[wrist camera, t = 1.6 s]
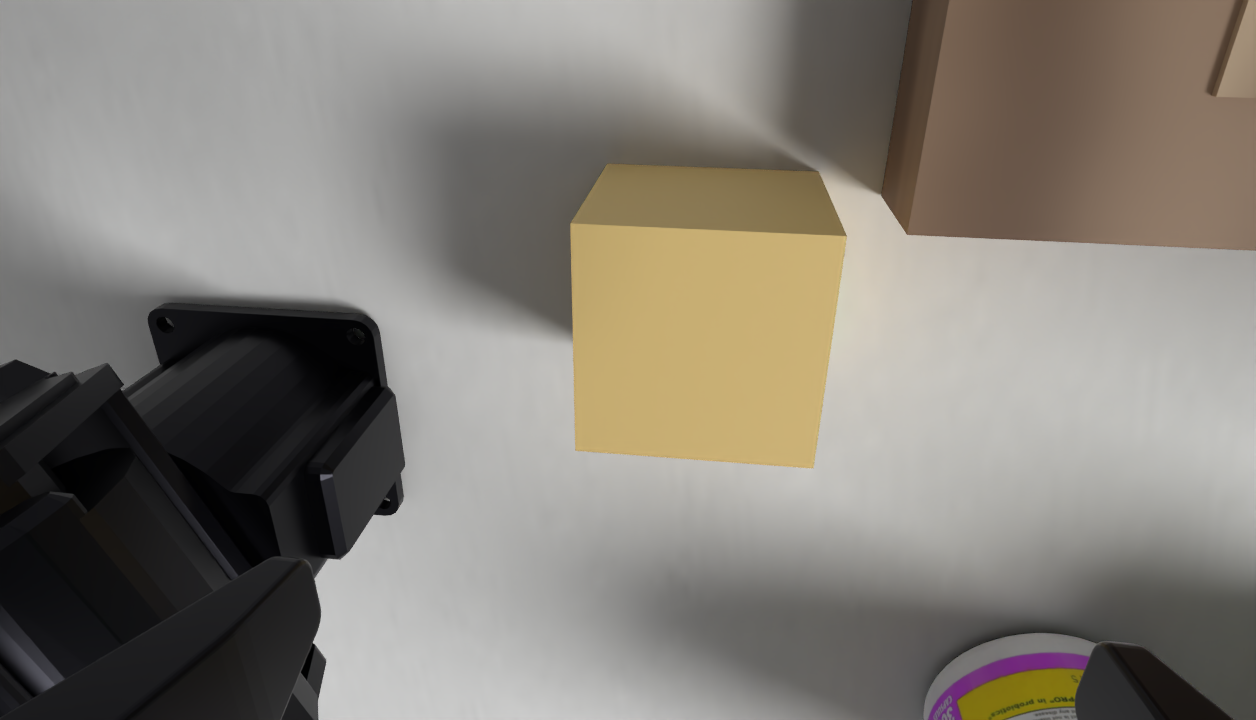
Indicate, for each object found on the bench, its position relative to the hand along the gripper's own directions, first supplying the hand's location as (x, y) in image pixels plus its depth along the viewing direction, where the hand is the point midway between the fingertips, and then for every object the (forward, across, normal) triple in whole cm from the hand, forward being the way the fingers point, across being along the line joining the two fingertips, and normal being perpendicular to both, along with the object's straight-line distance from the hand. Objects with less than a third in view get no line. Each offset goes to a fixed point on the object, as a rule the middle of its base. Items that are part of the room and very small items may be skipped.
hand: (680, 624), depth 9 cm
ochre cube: (+12, 0, 0) cm, 12 cm away
